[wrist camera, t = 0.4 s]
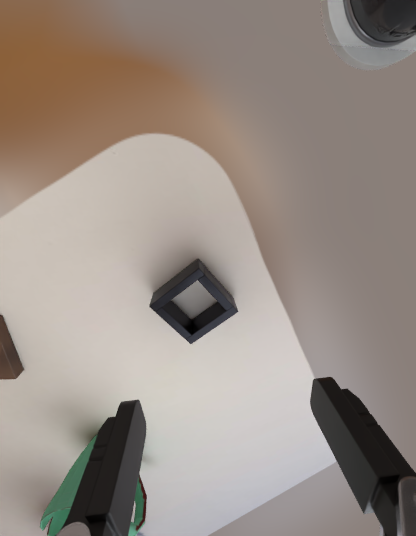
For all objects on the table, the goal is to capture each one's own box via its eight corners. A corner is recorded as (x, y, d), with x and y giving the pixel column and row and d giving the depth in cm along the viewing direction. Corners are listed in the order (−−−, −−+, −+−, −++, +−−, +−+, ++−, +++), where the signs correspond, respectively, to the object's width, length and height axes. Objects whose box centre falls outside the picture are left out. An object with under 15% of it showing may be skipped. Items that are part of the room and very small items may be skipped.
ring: (198, 258, 26) (199, 268, 23) (233, 298, 29) (238, 311, 26) (153, 293, 27) (148, 306, 25) (190, 328, 30) (190, 344, 27)
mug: (65, 443, 38) (23, 531, 28) (100, 414, 35) (68, 499, 26) (134, 473, 42) (118, 557, 33) (169, 449, 40) (163, 531, 31)
